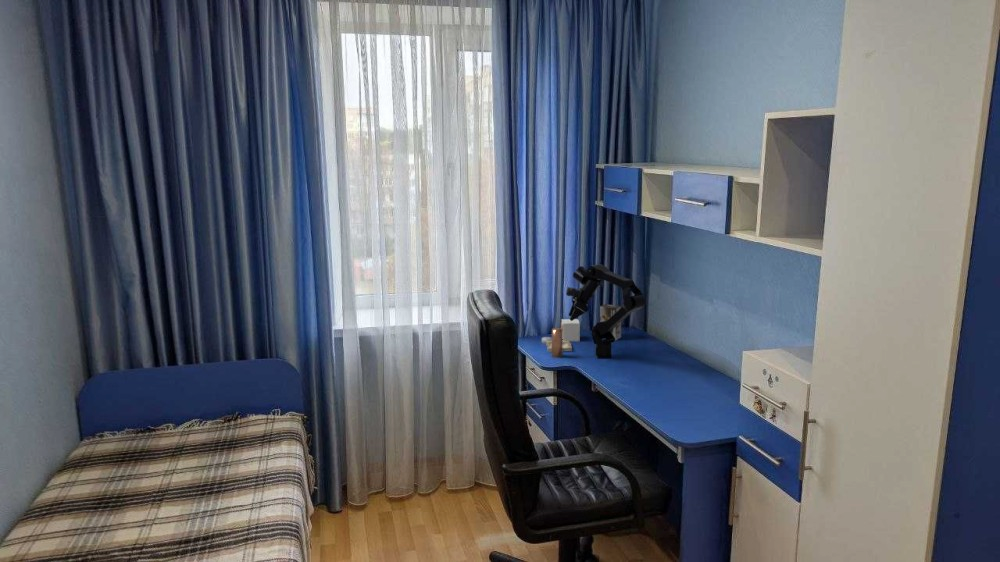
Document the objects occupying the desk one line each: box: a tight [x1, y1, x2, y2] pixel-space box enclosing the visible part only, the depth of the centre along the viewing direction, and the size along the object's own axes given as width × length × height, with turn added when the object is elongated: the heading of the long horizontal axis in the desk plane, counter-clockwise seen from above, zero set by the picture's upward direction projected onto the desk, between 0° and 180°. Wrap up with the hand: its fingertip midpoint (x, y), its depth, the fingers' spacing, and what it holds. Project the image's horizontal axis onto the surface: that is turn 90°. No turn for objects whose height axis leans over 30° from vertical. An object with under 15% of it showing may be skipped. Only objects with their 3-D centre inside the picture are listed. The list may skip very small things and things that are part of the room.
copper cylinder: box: [551, 327, 563, 358], centre depth 305 cm, size 5×5×12 cm
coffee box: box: [599, 303, 623, 341], centre depth 333 cm, size 9×6×16 cm
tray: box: [545, 340, 573, 353], centre depth 317 cm, size 11×11×2 cm
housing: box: [560, 318, 581, 342], centre depth 331 cm, size 8×8×9 cm
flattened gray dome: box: [541, 336, 552, 345], centre depth 326 cm, size 5×5×2 cm
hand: (570, 318), depth 308 cm, fingers open, 9 cm apart
